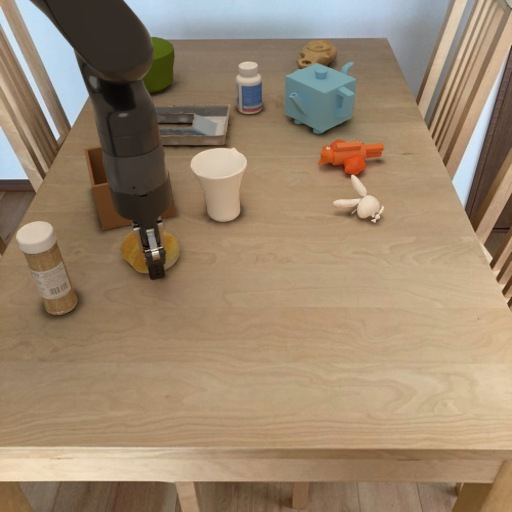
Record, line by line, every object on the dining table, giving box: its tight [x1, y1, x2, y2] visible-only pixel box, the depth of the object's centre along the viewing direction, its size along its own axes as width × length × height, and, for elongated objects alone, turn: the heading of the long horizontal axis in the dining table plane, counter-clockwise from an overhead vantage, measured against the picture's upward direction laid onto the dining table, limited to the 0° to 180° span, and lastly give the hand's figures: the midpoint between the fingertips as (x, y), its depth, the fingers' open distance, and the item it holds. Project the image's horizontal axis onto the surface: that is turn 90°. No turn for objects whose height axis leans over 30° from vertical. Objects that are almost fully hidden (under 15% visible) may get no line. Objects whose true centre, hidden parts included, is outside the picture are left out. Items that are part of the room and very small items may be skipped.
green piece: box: [143, 36, 176, 95], centre depth 126 cm, size 12×12×11 cm
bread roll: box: [120, 229, 181, 274], centre depth 84 cm, size 8×9×4 cm
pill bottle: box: [235, 61, 263, 115], centre depth 117 cm, size 6×5×10 cm
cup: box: [190, 147, 248, 223], centre depth 90 cm, size 9×9×10 cm
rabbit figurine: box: [332, 174, 385, 224], centre depth 91 cm, size 6×4×8 cm
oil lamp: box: [296, 39, 338, 69], centre depth 134 cm, size 11×14×5 cm
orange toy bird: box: [318, 138, 385, 176], centre depth 101 cm, size 5×8×12 cm
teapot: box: [284, 61, 358, 135], centre depth 112 cm, size 16×18×11 cm
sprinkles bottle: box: [15, 220, 79, 316], centre depth 73 cm, size 5×5×13 cm
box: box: [83, 145, 176, 231], centre depth 93 cm, size 12×12×8 cm
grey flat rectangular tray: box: [155, 103, 232, 146], centre depth 113 cm, size 13×25×3 cm, turn 89°
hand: (157, 275), depth 80 cm, fingers closed
